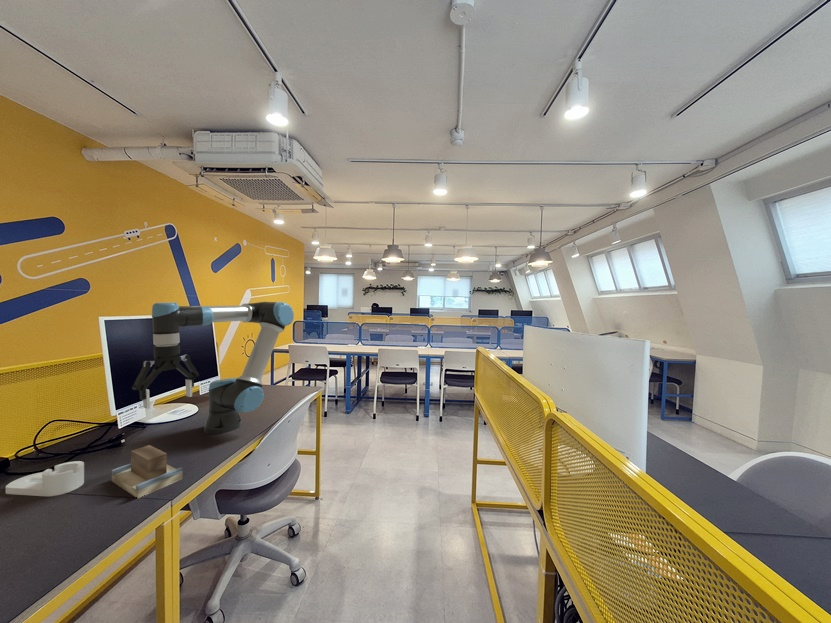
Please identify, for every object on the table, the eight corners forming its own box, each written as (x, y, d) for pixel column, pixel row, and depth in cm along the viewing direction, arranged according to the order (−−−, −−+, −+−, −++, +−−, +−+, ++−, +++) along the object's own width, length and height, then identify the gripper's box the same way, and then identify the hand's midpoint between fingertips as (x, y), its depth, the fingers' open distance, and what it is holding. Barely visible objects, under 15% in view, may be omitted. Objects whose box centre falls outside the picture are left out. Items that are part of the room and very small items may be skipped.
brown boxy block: (149, 464, 108) (149, 444, 108) (166, 474, 103) (166, 453, 102) (131, 471, 104) (131, 450, 104) (148, 481, 98) (148, 459, 98)
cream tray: (155, 465, 112) (155, 454, 112) (182, 479, 104) (182, 468, 104) (111, 481, 102) (111, 469, 102) (137, 498, 93) (137, 486, 93)
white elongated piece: (91, 481, 102) (91, 461, 102) (60, 498, 93) (60, 476, 93) (35, 478, 103) (35, 458, 103) (-2, 494, 94) (-2, 472, 94)
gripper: (197, 339, 125) (198, 390, 127) (117, 349, 103) (120, 411, 104) (208, 340, 122) (210, 393, 123) (128, 351, 100) (131, 415, 101)
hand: (169, 401), depth 114 cm, fingers open, 13 cm apart
